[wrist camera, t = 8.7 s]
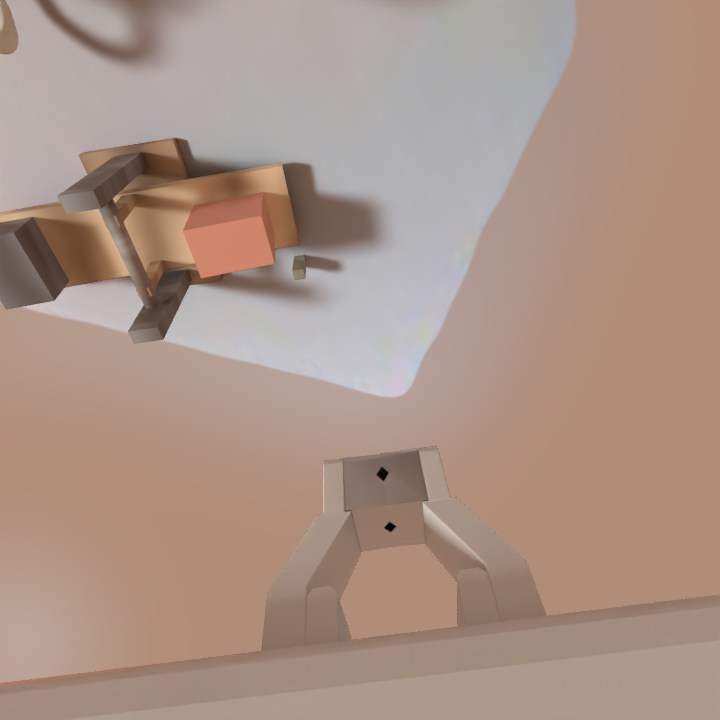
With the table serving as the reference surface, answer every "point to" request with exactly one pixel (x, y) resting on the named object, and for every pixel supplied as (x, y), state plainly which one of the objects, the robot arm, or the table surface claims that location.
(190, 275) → the stand
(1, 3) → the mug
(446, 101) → the table surface
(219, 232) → the salmon red rectangular block
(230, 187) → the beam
